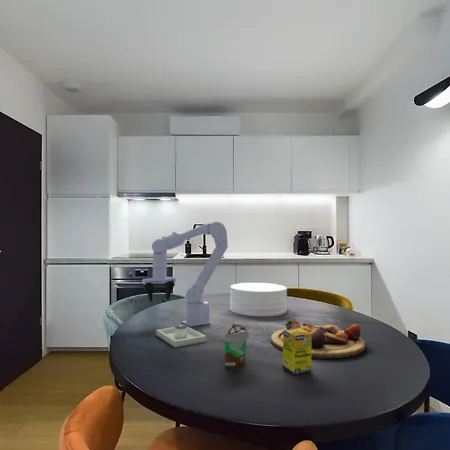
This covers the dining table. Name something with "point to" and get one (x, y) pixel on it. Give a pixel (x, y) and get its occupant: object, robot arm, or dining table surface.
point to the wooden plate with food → (326, 340)
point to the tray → (191, 338)
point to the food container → (235, 346)
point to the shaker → (180, 331)
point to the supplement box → (297, 351)
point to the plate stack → (258, 299)
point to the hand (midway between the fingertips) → (159, 300)
